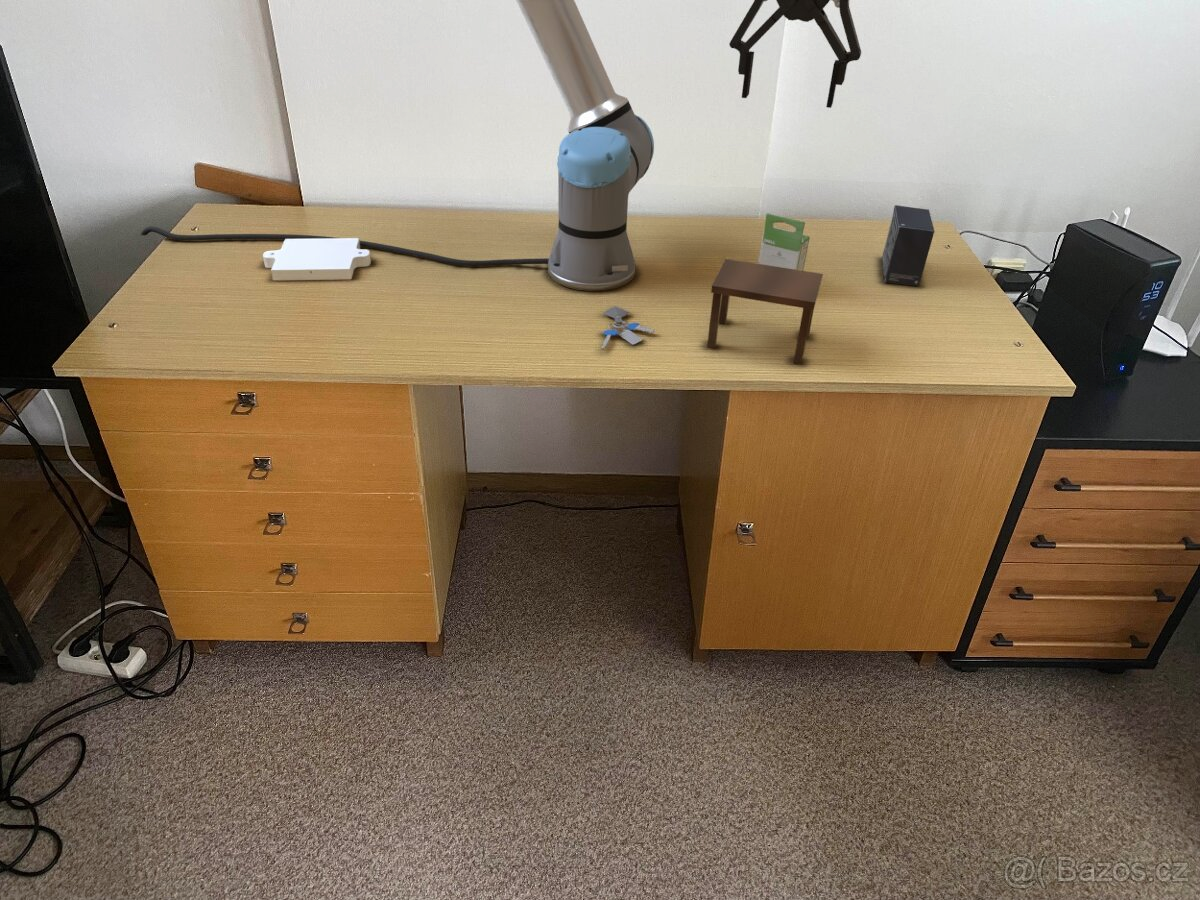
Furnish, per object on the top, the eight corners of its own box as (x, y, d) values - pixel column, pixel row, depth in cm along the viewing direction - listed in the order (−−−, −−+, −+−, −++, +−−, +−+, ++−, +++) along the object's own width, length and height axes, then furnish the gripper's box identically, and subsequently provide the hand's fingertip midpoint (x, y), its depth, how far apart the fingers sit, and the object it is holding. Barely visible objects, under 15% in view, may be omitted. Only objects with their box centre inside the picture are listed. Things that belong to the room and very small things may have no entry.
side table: (704, 347, 135) (711, 285, 128) (717, 318, 142) (725, 258, 136) (802, 365, 131) (815, 302, 125) (811, 334, 139) (822, 273, 133)
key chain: (603, 308, 144) (603, 303, 143) (653, 310, 144) (654, 305, 143) (600, 351, 133) (600, 346, 132) (655, 353, 133) (655, 348, 132)
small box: (921, 287, 154) (936, 230, 148) (883, 283, 155) (897, 226, 148) (916, 262, 162) (930, 207, 156) (880, 258, 163) (893, 204, 157)
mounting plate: (257, 280, 149) (255, 270, 148) (273, 249, 159) (271, 238, 158) (366, 279, 150) (364, 268, 149) (374, 247, 161) (373, 237, 160)
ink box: (800, 289, 152) (814, 215, 144) (791, 298, 149) (805, 222, 141) (763, 279, 155) (774, 205, 147) (754, 287, 152) (765, 212, 144)
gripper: (897, -47, 130) (867, 103, 142) (730, -59, 135) (715, 86, 148) (895, -40, 124) (863, 115, 136) (720, -53, 130) (706, 97, 142)
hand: (786, 100), depth 142 cm, fingers open, 13 cm apart
